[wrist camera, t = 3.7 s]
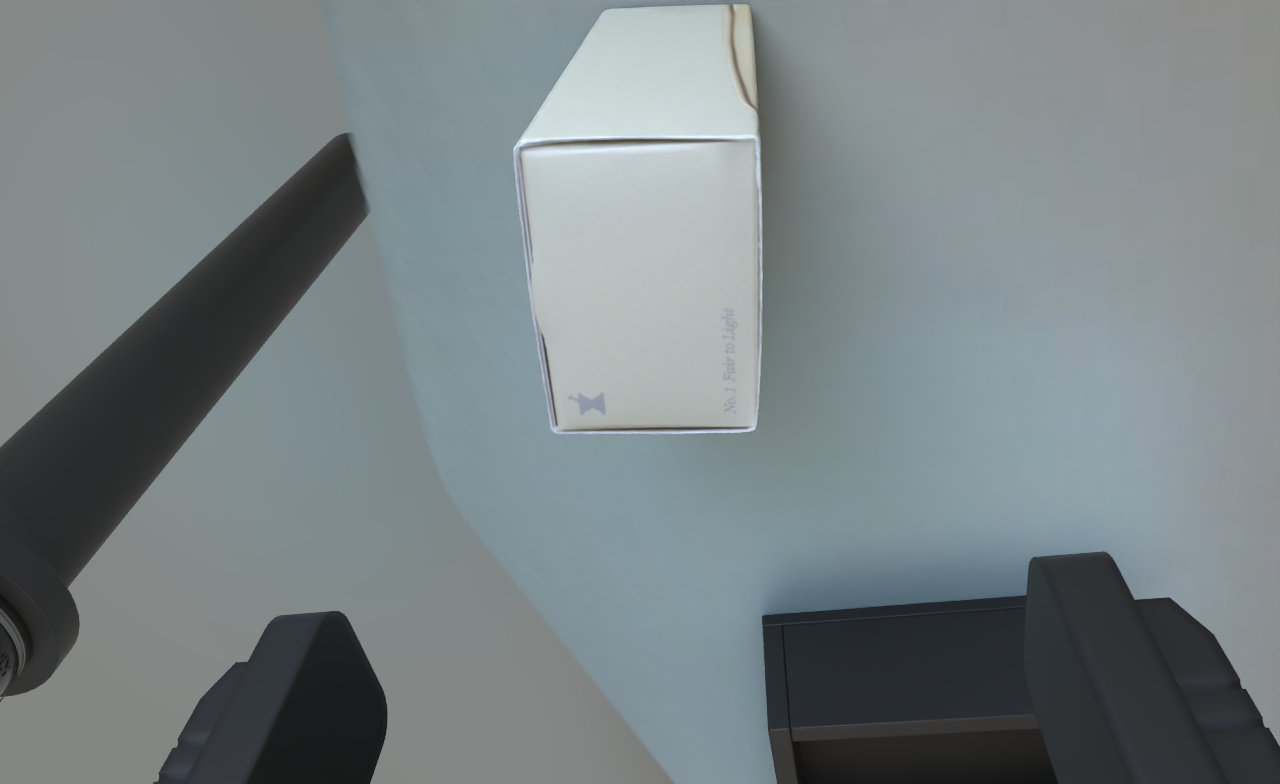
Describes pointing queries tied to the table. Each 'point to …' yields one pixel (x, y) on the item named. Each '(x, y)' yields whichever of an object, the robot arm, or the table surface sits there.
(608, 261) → the cosmetic box
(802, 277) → the table surface
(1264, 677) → the table surface
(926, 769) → the dark grey open box
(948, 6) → the table surface
